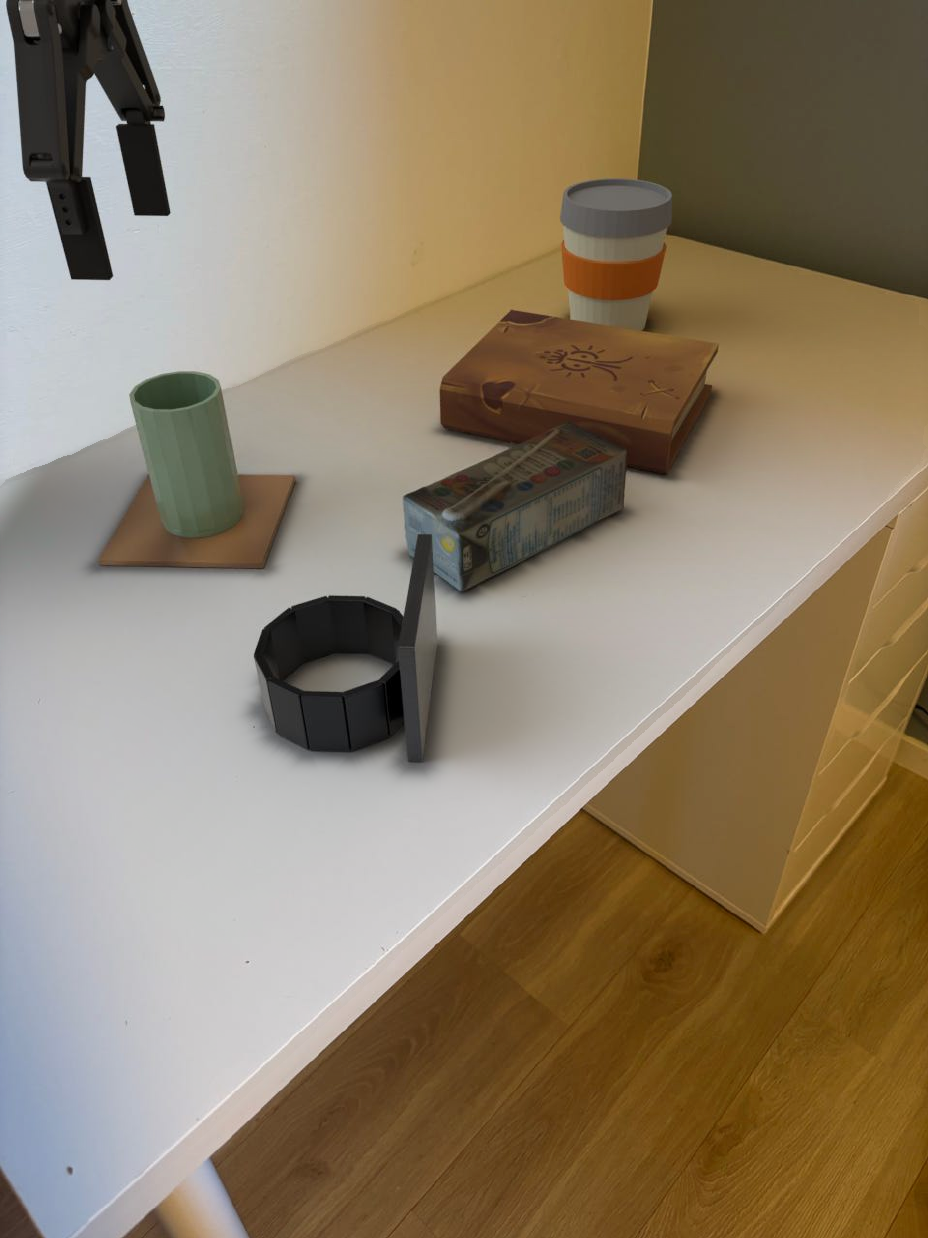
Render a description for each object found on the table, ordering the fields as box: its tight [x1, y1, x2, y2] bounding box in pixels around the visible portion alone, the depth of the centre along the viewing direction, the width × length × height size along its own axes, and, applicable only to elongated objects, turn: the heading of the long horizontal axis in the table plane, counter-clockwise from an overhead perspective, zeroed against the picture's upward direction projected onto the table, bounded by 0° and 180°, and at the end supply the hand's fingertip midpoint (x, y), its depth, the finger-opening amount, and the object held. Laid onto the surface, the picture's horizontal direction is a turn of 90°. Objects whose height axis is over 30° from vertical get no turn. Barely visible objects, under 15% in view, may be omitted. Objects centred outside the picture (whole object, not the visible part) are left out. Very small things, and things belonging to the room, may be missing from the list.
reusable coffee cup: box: [559, 177, 673, 331], centre depth 115 cm, size 13×12×15 cm
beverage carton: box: [402, 421, 627, 592], centre depth 84 cm, size 8×19×7 cm, turn 129°
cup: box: [128, 370, 244, 538], centre depth 84 cm, size 7×7×12 cm
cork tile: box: [97, 473, 296, 569], centre depth 88 cm, size 14×14×1 cm
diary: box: [439, 309, 720, 475], centre depth 101 cm, size 23×19×6 cm
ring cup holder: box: [253, 534, 438, 763], centre depth 67 cm, size 12×12×10 cm
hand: (124, 244), depth 74 cm, fingers open, 13 cm apart
